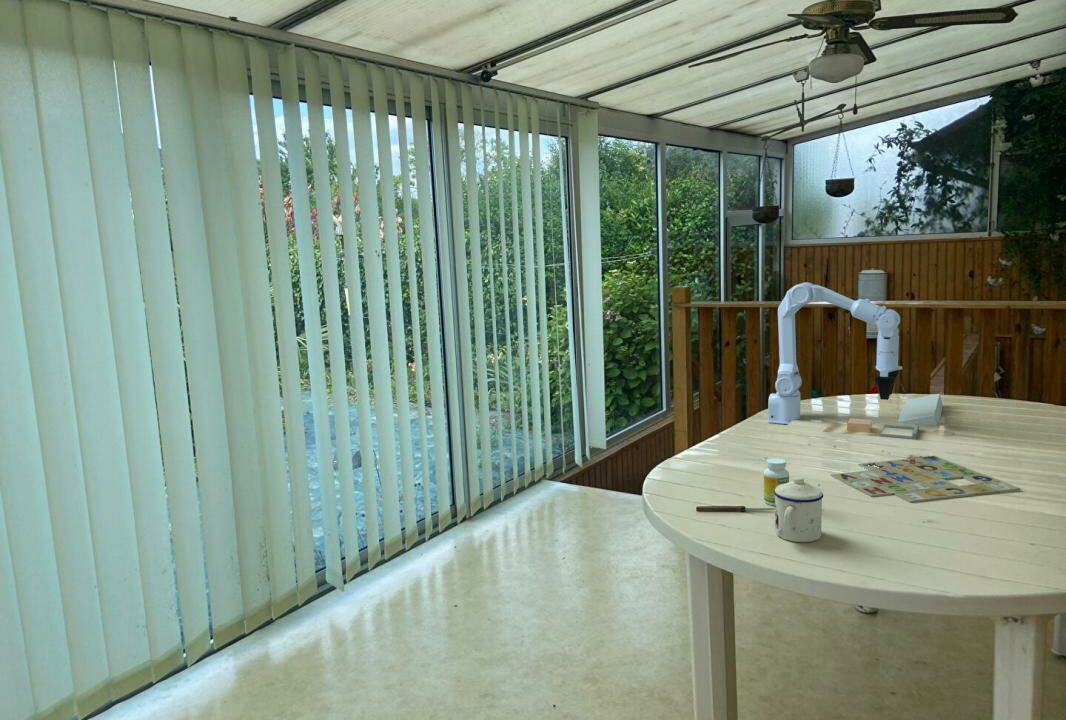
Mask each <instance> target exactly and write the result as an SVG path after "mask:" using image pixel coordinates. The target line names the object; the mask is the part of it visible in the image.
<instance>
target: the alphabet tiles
mask: <svg viewBox="0 0 1066 720" xmlns="http://www.w3.org/2000/svg"><path fill="white" fill-rule="evenodd" d="M858 465H859V467H860V466H861V468H862V467H864V468H863V469H865V468H866V469H865V470H860V471H852V472H842V473H840V472H839V473H832V474H830V477H832V478H834V479H836V480H838V481H840V482H842V483H843V484H845V485H847V486H849V487H851V488H853V489H855V490H857V491H858V492H860V493H863V494H865V495H867V496H868V497H870V498H876V497H877V498H878V497H887V496H895V497H897V498H898V499H899V498H900V499H902V500H903V501H905V502H907V503H909V504H915V503H924V502H933V501H940V500H949V499H950V500H951V499H960V498H968V497H976V496H985V495H986V496H987V495H995V493H998V494H1005V493H1004V492H1008V493H1012V492H1011V491H1017V492H1021V491H1020V490H1021V489H1022V488H1020V487H1019V486H1016V485H1013V484H1011V483H1008V482H1005V481H1003V480H1000V479H998V478H995V477H992V476H989V475H988V474H985V473H984V474H983V473H982V472H981V473H980V472H978V471H976V470H974V469H973V470H972V469H970V468H967V467H965V466H963V465H960V464H958V463H956V462H953V461H950V460H947V459H944V458H941V457H939V456H936V455H929V456H922V457H910V458H901V459H893V460H885V461H872V462H864V463H857V466H858ZM868 465H869V466H868ZM874 465H875V466H877V467H879V468H877V467H874ZM867 469H868V470H867ZM961 479H963V480H965V479H966V481H968V482H970V483H973V484H964V485H958V484H956V483H954V482H951V480H961Z"/></svg>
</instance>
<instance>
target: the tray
mask: <svg viewBox="0 0 1066 720" xmlns="http://www.w3.org/2000/svg"><path fill="white" fill-rule="evenodd" d="M883 427H884V429H885V428H886V429H898V430H908V431H909V430H910V431H911V430H912V433H911V435H902V434H890V433H883V432H882V433H880V436H879V437H880V438H890V439H902V440H904V439H905V440H913V441H915V440H917V436H918V433H919V430H920V424H914V426H907V425H898V424H897V425H896V424H884V425H883Z"/></svg>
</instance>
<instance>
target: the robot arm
mask: <svg viewBox="0 0 1066 720" xmlns="http://www.w3.org/2000/svg"><path fill="white" fill-rule="evenodd" d="M811 302H812V303H817V302H826V303H828V304H831V305H835V306H837V307H839V308H842V309H844V310H847V311H850V313H851V316H852V317H853V318H856V319H857V320H861V321H862V322H865V323H867V324H870V325H872V326H874V325H876V327H877V333H878V334H877V336H876V363H875V364H876V365H875V370H876V371H878V374H874V375H873V377H874V378H873V379H874V381H875V382H876V386H877V389H878V394H879V399H880V400H884V401H885V400H890V397H891V395H892V394H893V391H894V388H895V387H894V386H895V383H896V379H897V377H898V375H899V373H900V371H901V370H903V366H901V365H899V346H900V345H899V343H900V336H899V332H900V329H899V327H898V326H899V324H900V323H901V317H900V316H901V315H900V314H899V313H898V312H897V311H895V310H894V309H892V308H888V309H887V306H885V305H882V306H880V305H877V304H875V303H872V302H871V299H869V298H865V299H863V298H860V299H857V300H854V299H851V298H850V297H847V296H845V295H843V294H841V293H838V292H836V291H834V290H831V289H830V288H827V287H825V286H821V285H817V284H813V283H811V282H802V283H799V284H795V285H794V286H792V287H791V288H790V289H789V290H787V291H786V293H785V296H784V298H782V301H781V303H780V304H779V305H778V308H777V324H778V325H777V326H778V348H779V349H778V353H779V354H778V355H779V356H778V357H779V366H778V370H777V378H776V381H775V383H774V388H775V390H776V393H770V394H769V396H768V403H767V404H768V405H767V406H768V407H767V408H768V409H767V411H768V412H767V414H768V417H767V423H768V424H778V425H779V424H780V425H789V424H791V423H792V422H793V421H796V420H800V419H801V392H800V390H799V389H800V387H802V383H803V380H802V377H801V375H800V373H799V372H800V371H799V366H798V363H797V343H796V342H797V341H796V338H797V337H796V313H797V312H798V311H799V310H800V309H802V307H803V306H804V305H807V304H809V303H811Z"/></svg>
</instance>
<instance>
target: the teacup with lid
mask: <svg viewBox="0 0 1066 720" xmlns="http://www.w3.org/2000/svg"><path fill="white" fill-rule="evenodd" d="M774 494H775V506H774V507H775V508H774V510H775V511H774V513H775V514H774V515H775V516H774V521H775V522H774V531H775V532H774V533H775V534H776V535H777V536H778V537H779V538H781V539H783V540H786V541H789V542H795V543H810V542H811V543H812V542H815V541H818V540H820V539H821V536H822V515H823V513H822V512H823V509H822V507H823V498H824V493H823V491H822V489H821V488H819V487H818V486H815V485H812V484H809V482H806V481H805V479H804V477H802V476H795V477H793V479H792V480H791V481H789V482H788V483H786V484H781V485H779V486H777V487H776V489H775V491H774Z"/></svg>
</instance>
